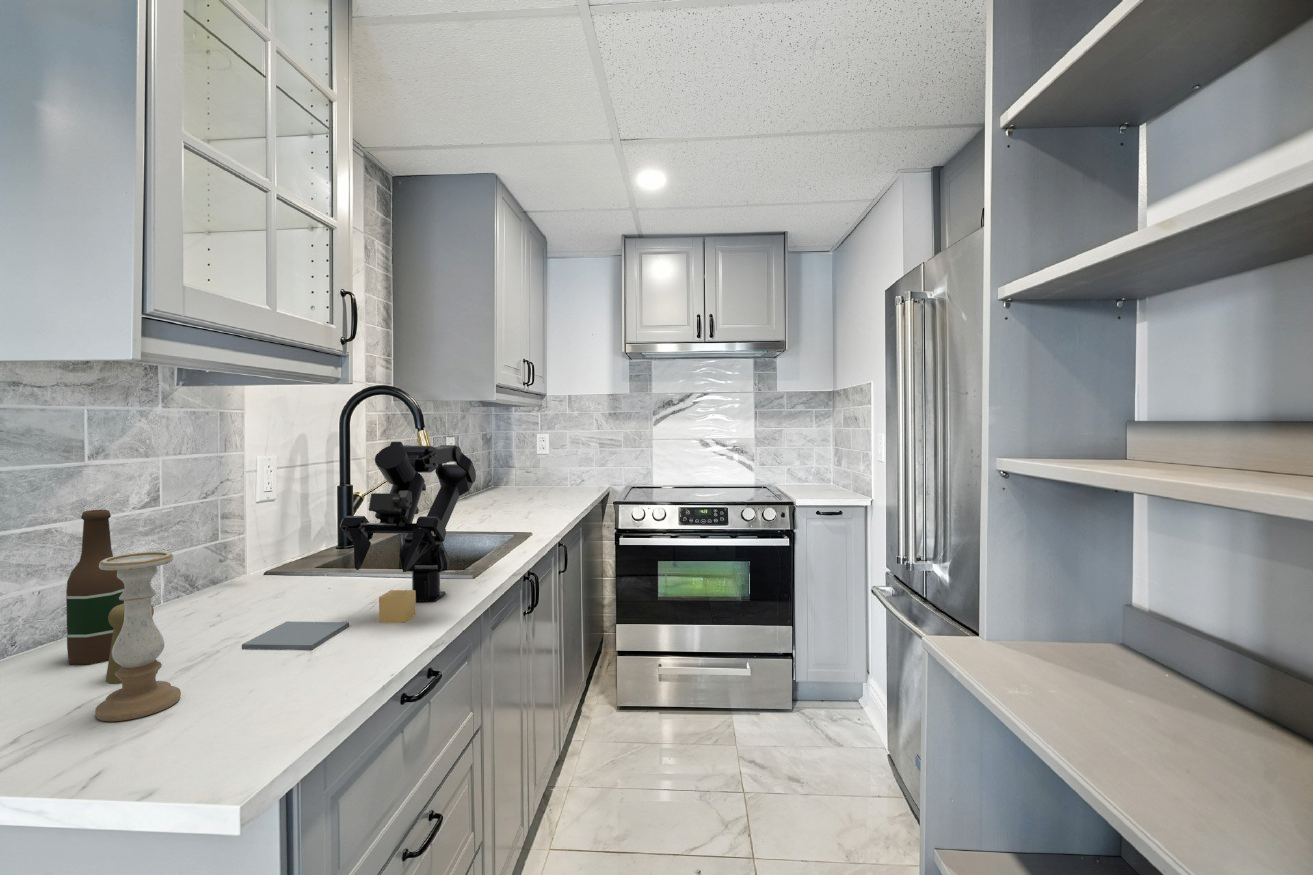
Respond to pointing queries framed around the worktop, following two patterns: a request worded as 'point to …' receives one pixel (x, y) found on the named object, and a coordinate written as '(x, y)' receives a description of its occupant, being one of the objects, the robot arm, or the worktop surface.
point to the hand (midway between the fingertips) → (381, 569)
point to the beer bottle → (92, 594)
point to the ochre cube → (397, 606)
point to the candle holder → (137, 642)
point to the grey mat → (296, 635)
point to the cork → (116, 622)
